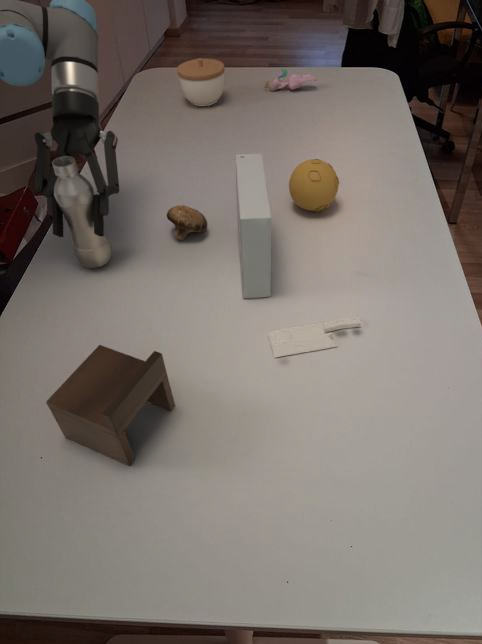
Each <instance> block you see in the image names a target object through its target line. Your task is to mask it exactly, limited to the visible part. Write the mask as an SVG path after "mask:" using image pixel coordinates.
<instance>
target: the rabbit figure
mask: <svg viewBox="0 0 482 644" xmlns="http://www.w3.org/2000/svg"><path fill="white" fill-rule="evenodd" d="M281 71H282V73H280V74H279V75H277V77H276V78H274V79H272V80H267V81H264V84H263V90H264V92H266V91H267V87H268V88H269V90H270V91H271V92H275V91H276V90H279V89H280V90H281V89H284V88H286V87H288V88H289V89H290V90H292V91H294V90H296V89H299V88H301V86H302V85H303V84H304V83H306V82H308V81H313V82H317V81H318V77H317V76H315V75H313V74H310V73H307V74H302V75H301V74H298V73H294V74H292V75H290V76H289V77H288V79H287V81H286V80H285V79H283V78H285V77H287V75H288V70H287V69H286V68H282V69H281Z"/></svg>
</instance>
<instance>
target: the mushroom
mask: <svg viewBox="0 0 482 644" xmlns="http://www.w3.org/2000/svg"><path fill="white" fill-rule="evenodd" d="M166 218H167V220H169V222H170V223H171V224H174V228H173V230H172V233H173V235H174V236H175V237H176V238H177V239H178V240H181V241H184V240H185V239H186V238H187V236H188V235H189V234H190V233H193V232H195V233H203V232H206V231H207V229H208V221H207V218H206V216H205V215H204V214H203V213H202V212H201V211H199V210H197V209H195V208H192V207H190V206H187V205H185V204H180V205H175V206H172V207H170V208H169V209H168V211H167V213H166Z"/></svg>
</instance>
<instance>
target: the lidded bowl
mask: <svg viewBox="0 0 482 644" xmlns="http://www.w3.org/2000/svg"><path fill="white" fill-rule="evenodd" d="M225 69H226V68H225V64H224V63H223V62H222V61H220V60H218V59H214V58H201V57H200V58H195V59H191V60H186V61H185V62H182V63H180V64H179V65H178V66H177V68H176V72H177V76H178V82H179V84H180V89H181V92H182V95H183V96H184V97H185V98H186V99H187V101H189V102H190V103H191V104H192V103H193V104H196V105H209V104H212V103H215V102H216V101H217V102H218V100H219V99H220V98H221V97H222V95H223V93H224V89H225V85H226V84H225V83H226V81H225V80H226V77H225V75H226V74H225ZM193 104H192V105H193Z"/></svg>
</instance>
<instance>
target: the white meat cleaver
mask: <svg viewBox="0 0 482 644" xmlns="http://www.w3.org/2000/svg"><path fill="white" fill-rule="evenodd" d="M361 327H362V321H361V319H360V317H359V316H353V317H347V318H340V319H335V320H329V321H322V322H316V323H311V324H309V323H308V324H305V325H297V326H291V327H290V326H289V327H287V328H282V329H277V330H271V331H267V333H266V334H267V338H268V341H269V345H270V349H271V351H272V354H273V358H274V359H275V358H280V357H286V356H291V355H298V354H303V353H308V352H309V353H310V352H315V351H320V350H321V351H322V350H324V349H325V350H326V349H333V348H337V347H338V345H337V344H336V343H335V341H334V340H333V339H332V338H333V331H337V330H341V329H349V328H350V329H352V328H361Z"/></svg>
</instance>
